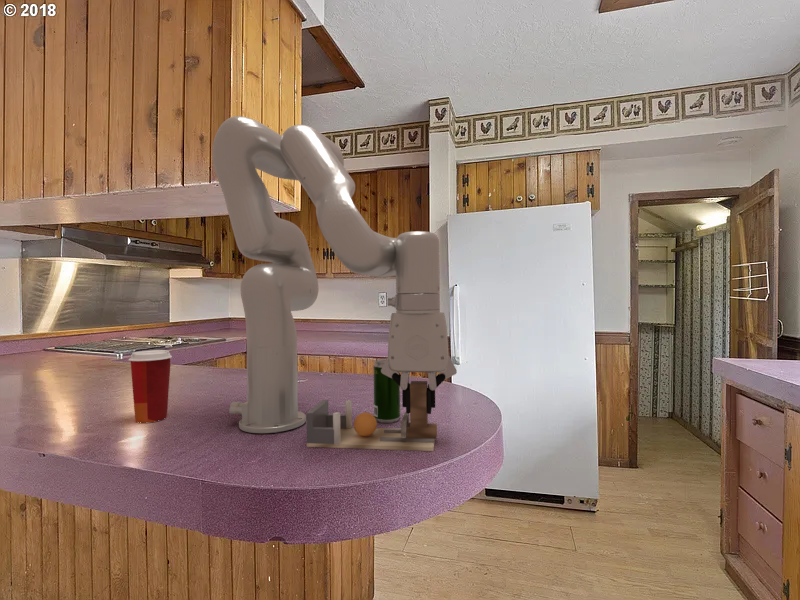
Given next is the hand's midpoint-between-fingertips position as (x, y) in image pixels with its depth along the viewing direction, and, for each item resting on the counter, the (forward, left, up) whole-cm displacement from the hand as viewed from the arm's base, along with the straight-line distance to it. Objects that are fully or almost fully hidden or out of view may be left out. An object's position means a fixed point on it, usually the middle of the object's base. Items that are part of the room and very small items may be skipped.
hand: (419, 410), depth 70 cm
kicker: (0, 0, -4) cm, 4 cm away
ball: (-9, 0, -3) cm, 10 cm away
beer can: (-7, +12, -5) cm, 15 cm away
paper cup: (-56, +8, -5) cm, 57 cm away
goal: (-15, 0, -5) cm, 16 cm away
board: (-8, 0, -5) cm, 9 cm away
